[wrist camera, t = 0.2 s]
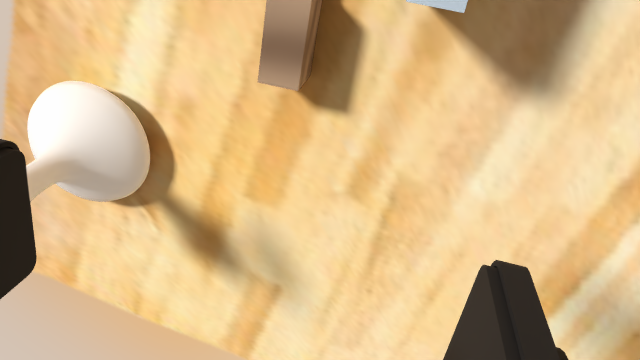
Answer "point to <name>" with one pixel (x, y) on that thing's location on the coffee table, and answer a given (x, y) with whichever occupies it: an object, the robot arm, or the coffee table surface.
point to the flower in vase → (86, 143)
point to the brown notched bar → (288, 42)
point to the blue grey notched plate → (443, 4)
